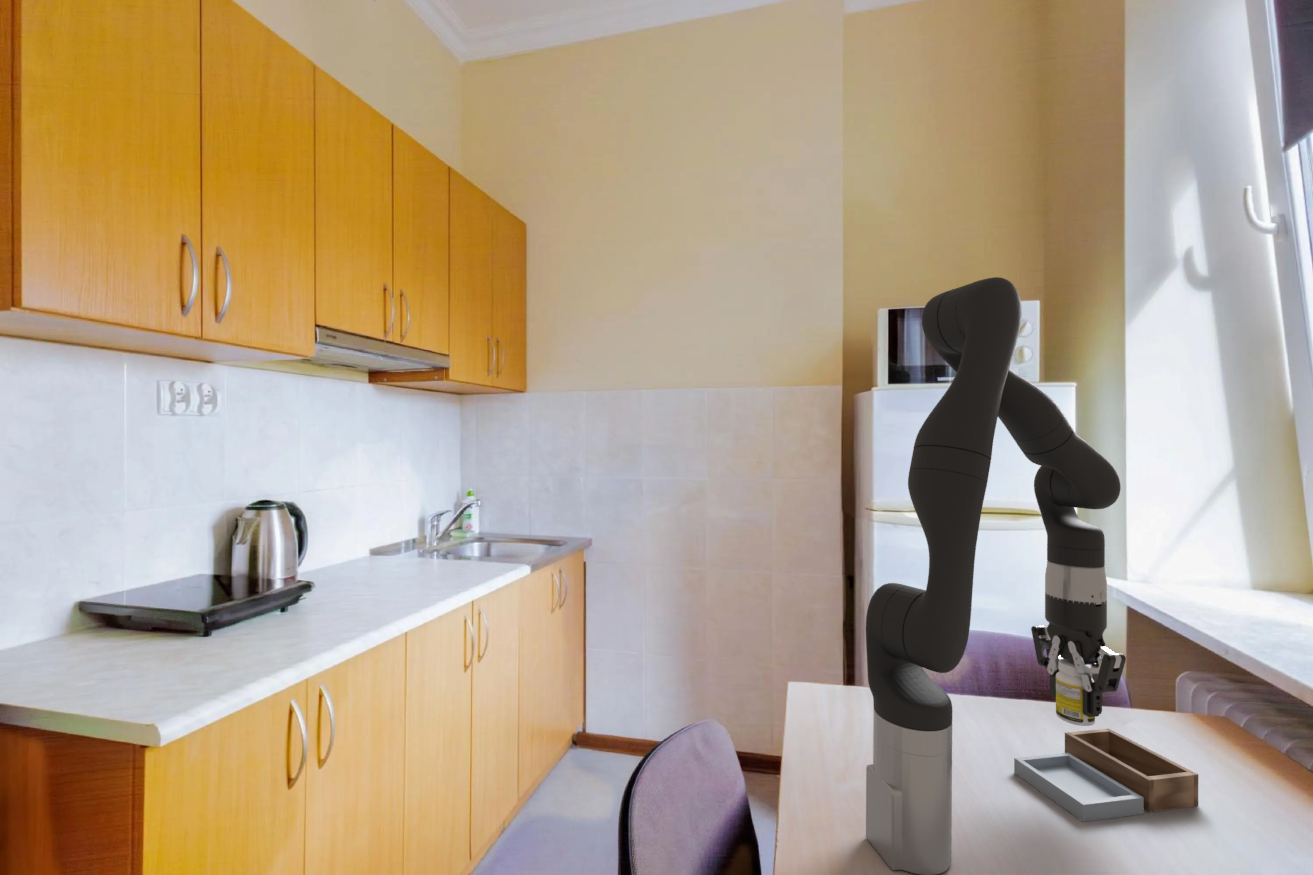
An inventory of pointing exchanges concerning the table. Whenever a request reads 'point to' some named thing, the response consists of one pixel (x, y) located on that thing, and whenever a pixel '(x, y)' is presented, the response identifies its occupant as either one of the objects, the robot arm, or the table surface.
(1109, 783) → the tray
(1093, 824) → the table surface
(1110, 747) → the caddy
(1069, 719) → the supplement bottle
